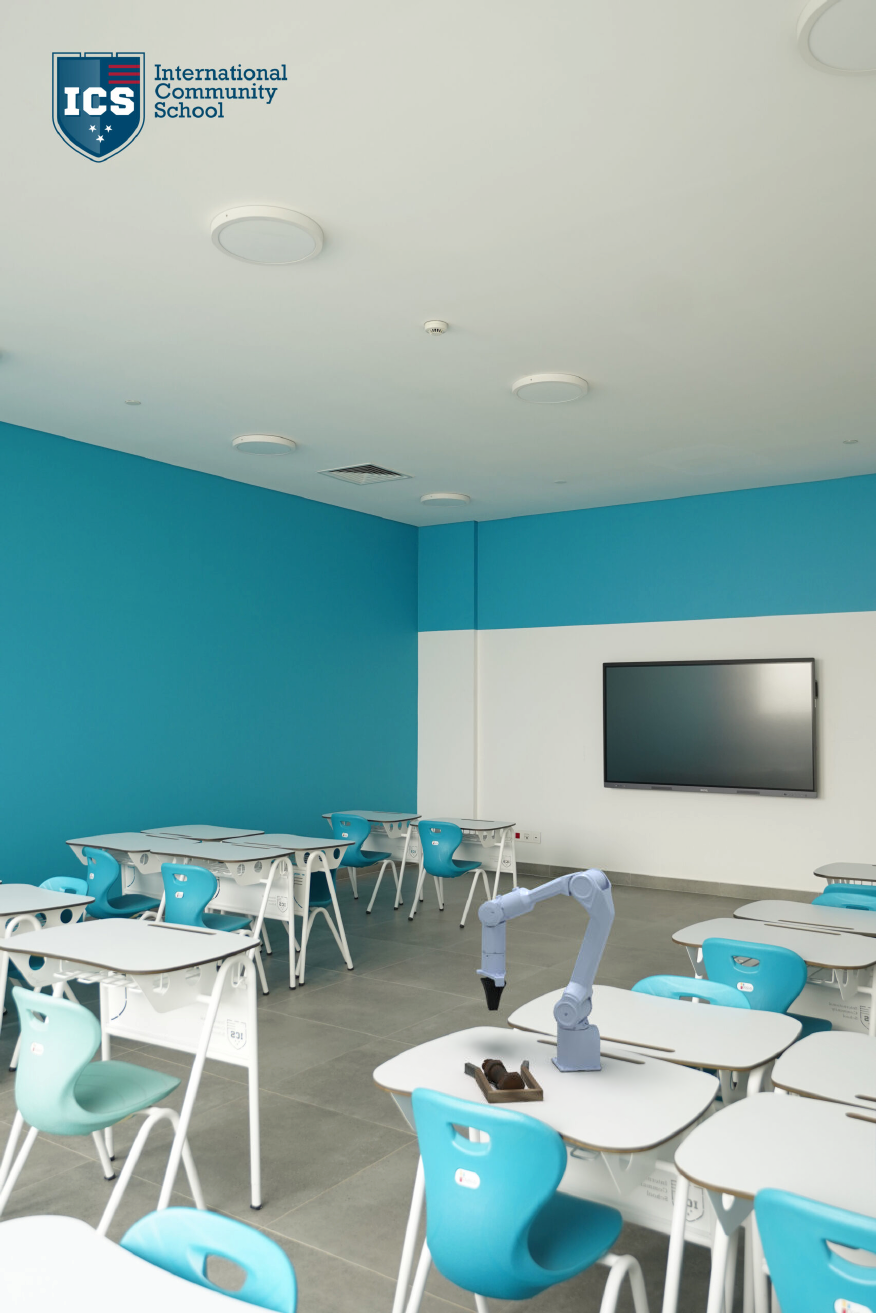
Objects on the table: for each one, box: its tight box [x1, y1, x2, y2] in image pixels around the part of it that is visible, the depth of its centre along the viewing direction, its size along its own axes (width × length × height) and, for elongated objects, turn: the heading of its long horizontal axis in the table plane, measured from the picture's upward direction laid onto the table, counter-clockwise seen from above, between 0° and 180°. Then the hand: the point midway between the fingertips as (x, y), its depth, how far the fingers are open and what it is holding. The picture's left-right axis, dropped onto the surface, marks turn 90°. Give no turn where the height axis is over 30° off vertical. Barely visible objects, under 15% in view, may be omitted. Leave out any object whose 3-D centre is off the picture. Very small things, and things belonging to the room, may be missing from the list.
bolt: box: [481, 1058, 526, 1090], centre depth 202 cm, size 6×5×15 cm
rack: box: [464, 1059, 544, 1104], centre depth 203 cm, size 15×18×2 cm
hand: (492, 1009), depth 225 cm, fingers closed
